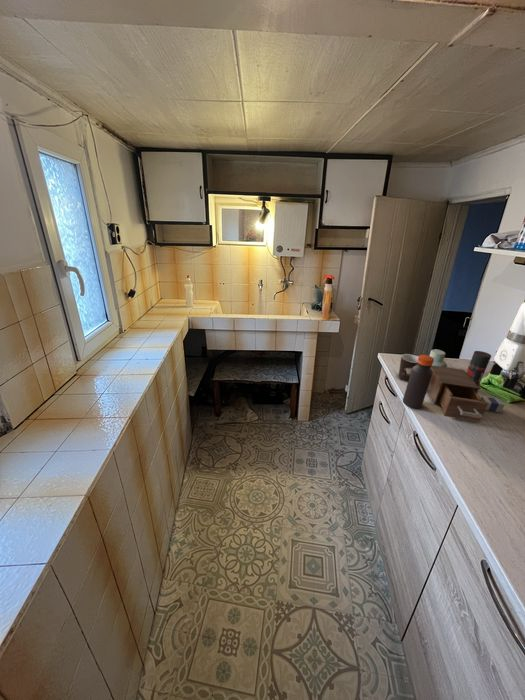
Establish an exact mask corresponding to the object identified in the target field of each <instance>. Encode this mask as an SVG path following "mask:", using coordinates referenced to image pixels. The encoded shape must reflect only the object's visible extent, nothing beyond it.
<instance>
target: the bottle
mask: <svg viewBox="0 0 525 700" xmlns="http://www.w3.org/2000/svg"><path fill="white" fill-rule="evenodd" d="M433 362H434V358H432V357H430V355H427V354H419V355H418V361H417V363H418V364H417V365H415V366H413V368H412V371H411V374H410V377H409V381H408V382H407V384H406V386H405V387H406V388H405V391H404V394H403V398H402V403H403V405H405V406H406V407H408V408H411V409H420V408H422V406H423V404H424V401H425V397H426V394H427V392H428V391H427V389H428V386H429V383H430V380H431V377H432V374H433V371H432V370H431V368H430V367H431V366H432V364H433Z"/></svg>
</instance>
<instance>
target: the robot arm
mask: <svg viewBox="0 0 525 700" xmlns="http://www.w3.org/2000/svg"><path fill="white" fill-rule="evenodd" d="M492 363H493V364H492V367H491V368H490V371H489V375H492V376H500V375H501V373H502V371H503V370H504V371H505V372H508V376H506V377H505V380H504V382H503V384H502V388H504V389H509V390H510V389H511V390H513V389H515V386H516V385H517V383H518V381H519V380H521V379H522V378H523V377H524V376H525V301H524V302H522V303H521V304H520V306H519V309H518V311H517V313H516V315H515V317H514V320H513V321H512V324H511V326H510V328H509V331H508V333H507V335H506V337H505V338H504V339H503V340H502V342H501V344H500V345H499V347H498V349H497V350H496V351H495V355H494V357H493V362H492Z"/></svg>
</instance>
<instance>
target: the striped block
mask: <svg viewBox="0 0 525 700" xmlns="http://www.w3.org/2000/svg"><path fill="white" fill-rule="evenodd" d="M480 398H481V399H482V401H485V402H487V403H488V405H487V407H486V409H485V411H489V412H496V413H502V412H503V409H504V407H505V403H503V402H502V401H501V399H500V398H497V397H492V396H491V397H490V396H484V395H483V396H480Z"/></svg>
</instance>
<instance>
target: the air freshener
mask: <svg viewBox="0 0 525 700" xmlns="http://www.w3.org/2000/svg"><path fill="white" fill-rule="evenodd" d="M429 356H430V357H432V358H434V362H433V364H432V366H439V367H446V368H448V364H447V362H446V361H445V357H446V352H445V351H443V350H442V349H441V350H440V349H437V348H435V349H431V350H430V354H429Z"/></svg>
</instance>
